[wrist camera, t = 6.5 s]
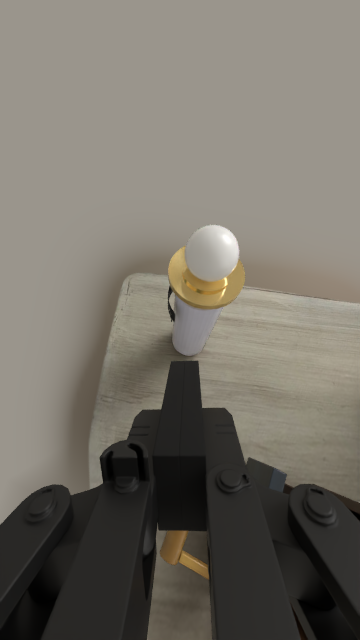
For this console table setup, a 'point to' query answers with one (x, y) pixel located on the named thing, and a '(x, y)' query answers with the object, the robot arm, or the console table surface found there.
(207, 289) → the perfume bottle
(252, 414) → the console table surface
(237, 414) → the console table surface
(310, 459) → the console table surface
